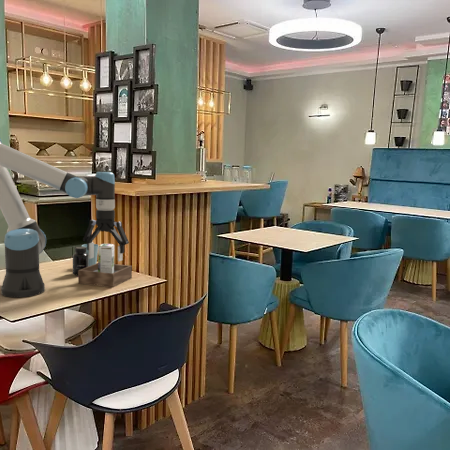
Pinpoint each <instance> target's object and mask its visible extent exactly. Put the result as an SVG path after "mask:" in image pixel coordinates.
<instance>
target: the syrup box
mask: <svg viewBox="0 0 450 450" xmlns="http://www.w3.org/2000/svg"><path fill="white" fill-rule="evenodd" d="M97 263H98V272H103V273H114V264H115V244H113V243H101V244H100V245H98V254H97Z"/></svg>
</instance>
